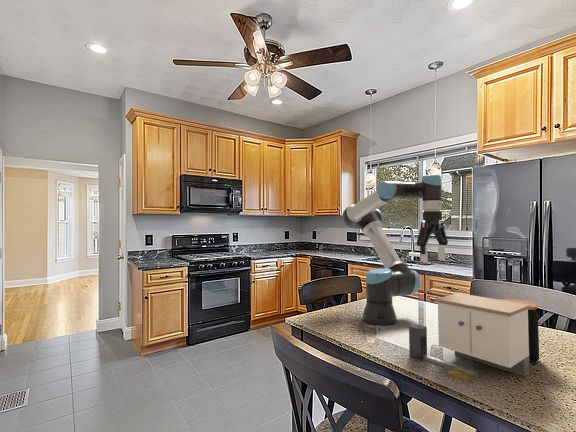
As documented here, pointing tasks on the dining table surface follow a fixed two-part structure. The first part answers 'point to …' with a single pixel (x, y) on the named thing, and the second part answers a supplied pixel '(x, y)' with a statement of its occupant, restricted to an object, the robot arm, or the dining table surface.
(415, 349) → the grey post with bar
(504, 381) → the dining table surface
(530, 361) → the coffee jar
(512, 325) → the toe-kick cabinet
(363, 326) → the dining table surface
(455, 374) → the brass block
